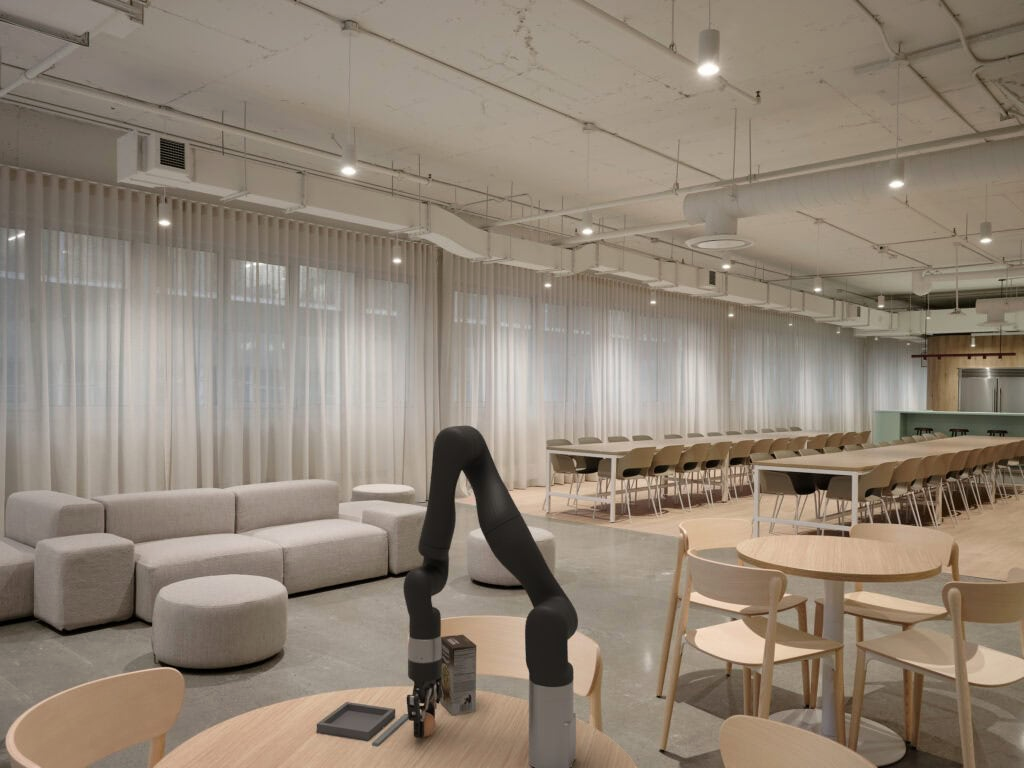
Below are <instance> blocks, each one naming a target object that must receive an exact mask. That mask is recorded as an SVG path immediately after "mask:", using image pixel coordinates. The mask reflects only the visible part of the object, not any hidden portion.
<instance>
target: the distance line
mask: <svg viewBox="0 0 1024 768" xmlns="http://www.w3.org/2000/svg"><path fill="white" fill-rule="evenodd" d="M407 721H409V720H408V713H404V714H402V715H401V716H400V717H399V718H398V719H397V720H396V721H394V723H392V724H391V725H390V726H389V727H388V728H387V729H386V730H385V731H383V732H382V733H381V734H380V735H379V736H377V738H376V739H374V740H373V741H372V743H371V746H373V747H379V746H380V745H381V744H383V743H384V742H385V741H386V740H387V739H388V738H390V736H392V734H393V733H395V732H396V731H397V730H398V729H399V728H401V726H402V725H403V724H405V723H406V722H407Z"/></svg>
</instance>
